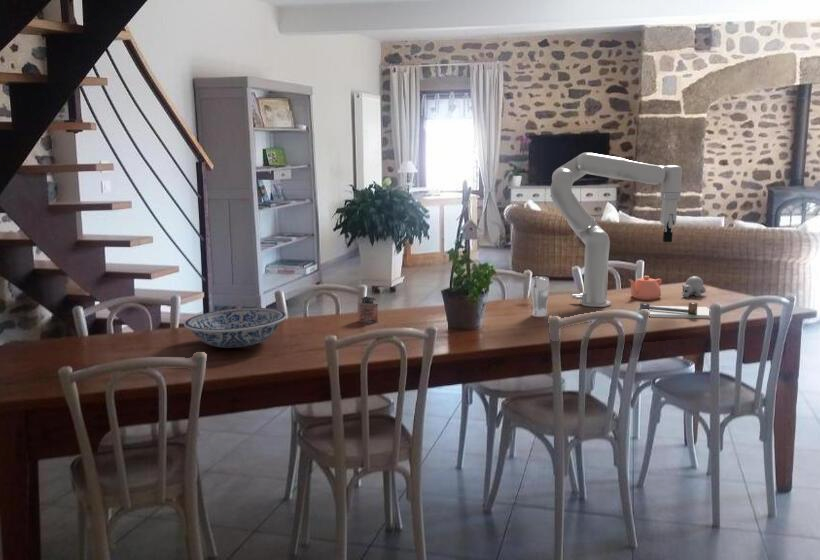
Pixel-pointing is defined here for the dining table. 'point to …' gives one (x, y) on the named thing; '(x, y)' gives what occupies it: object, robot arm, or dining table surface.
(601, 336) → the dining table surface
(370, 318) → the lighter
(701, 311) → the tuner dial board
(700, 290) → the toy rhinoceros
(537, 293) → the beer glass
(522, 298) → the dining table surface
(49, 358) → the dining table surface
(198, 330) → the ceramic bowl
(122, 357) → the dining table surface
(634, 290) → the teapot
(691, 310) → the tuning lever
